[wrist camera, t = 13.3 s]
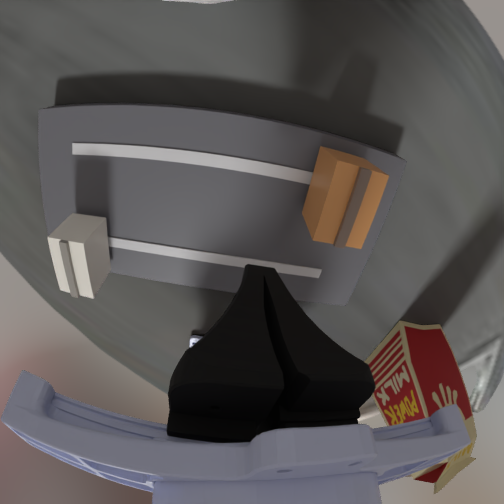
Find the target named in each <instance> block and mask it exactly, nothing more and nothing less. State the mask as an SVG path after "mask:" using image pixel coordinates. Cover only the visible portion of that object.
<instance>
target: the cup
mask: <svg viewBox="0 0 504 504" xmlns="http://www.w3.org/2000/svg"><path fill="white" fill-rule="evenodd" d="M164 1H182V2H195V3H205V4H213V3H219V2H225V1H232V0H164Z"/></svg>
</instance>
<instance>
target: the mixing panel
mask: <svg viewBox="0 0 504 504" xmlns="http://www.w3.org/2000/svg"><path fill="white" fill-rule="evenodd" d="M320 146H322V147H326V148H330V149H334V150H337V151H341V152H344V153H348V154H351V155H355V156H358V157H361V158H364V159H366V160H367V161H369V162H370V163H372V164H373V165H375V166H376V167H378V168H379V169H380V170H382V171H383V172H385V173H386V174H387V175H389V178H388V181H387V184H386V187H385V189H384V192H383V195H382V198H381V200H380V203H379V206H378V208H377V211H376V214H375V216H374V219H373V221H372V224H371V226H370V229H369V231H368V234H367V236H366V239H365V241H364V243H363V246H362V248H361V249H358V248H352V247H347V246H345V248H344V249H343V248H338V247H334V245H333V244H330V243H324V242H319V241H313V240H312V237H311V235H310V232H309V230H308V227H307V225H306V222H305V220H304V217H303V215H302V210H303V207H304V203H305V200H306V197H307V193H308V189H309V186H310V182H311V179H312V175H313V172H314V168H315V164H316V161H317V157H318V153H319V149H320ZM38 148H39V168H40V181H41V191H42V199H43V207H44V214H45V220H46V226H47V232H48V236H49V235H50V234H51V233H52V232H53V231H54V230H55V229H56V228H57V227H58V226H59V225H60V224H61V223H62V222H63V221H65V220H66V219H67V218H68V217H69V216H70V215H71V214H72V213H76V214H83V215H90V216H98V217H105V218H106V223H107V236H108V246H109V256H110V264H111V270H110V272H112V273H117V274H123V275H128V276H133V277H139V278H144V279H150V280H156V281H162V282H168V283H174V284H180V285H186V286H192V287H199V288H205V289H212V290H218V291H225V292H232V293H237V291H238V289H239V287H240V285H241V281H242V277H243V272H244V268H245V265H247V264H252V265H259V266H265V267H272V268H275V269H276V271H277V273H278V274H279V276H280V278H281V279H282V281H283V283H284V284H285V286H286V287H287V289H288V291H289V292H290V294H291V295H292V296H293V298H294V299H295V301H304V302H313V303H322V304H332V305H343V306H346V304H347V302H348V300H349V298H350V296H351V294H352V292H353V290H354V288H355V286H356V284H357V282H358V280H359V278H360V276H361V274H362V272H363V270H364V268H365V266H366V263H367V261H368V259H369V257H370V255H371V253H372V250H373V248H374V246H375V243H376V241H377V239H378V237H379V234H380V232H381V229H382V227H383V225H384V222H385V220H386V217H387V215H388V212H389V210H390V207H391V204H392V202H393V199H394V197H395V194H396V191H397V188H398V186H399V183H400V180H401V177H402V174H403V171H404V169H405V166H406V163H407V161H406V160H404V159H402V158H401V157H399V156H397V155H395V154H393V153H390V152H388V151H385V150H382V149H379V148H377V147H374V146H371V145H368V144H365V143H362V142H359V141H355V140H352V139H349V138H346V137H342V136H339V135H336V134H332V133H329V132H325V131H321V130H317V129H314V128H310V127H306V126H302V125H297V124H293V123H289V122H284V121H280V120H275V119H270V118H265V117H260V116H254V115H249V114H243V113H237V112H230V111H223V110H216V109H208V108H199V107H190V106H179V105H165V104H146V103H89V104H71V105H58V106H51V107H47V108H43V109H39V116H38Z"/></svg>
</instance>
